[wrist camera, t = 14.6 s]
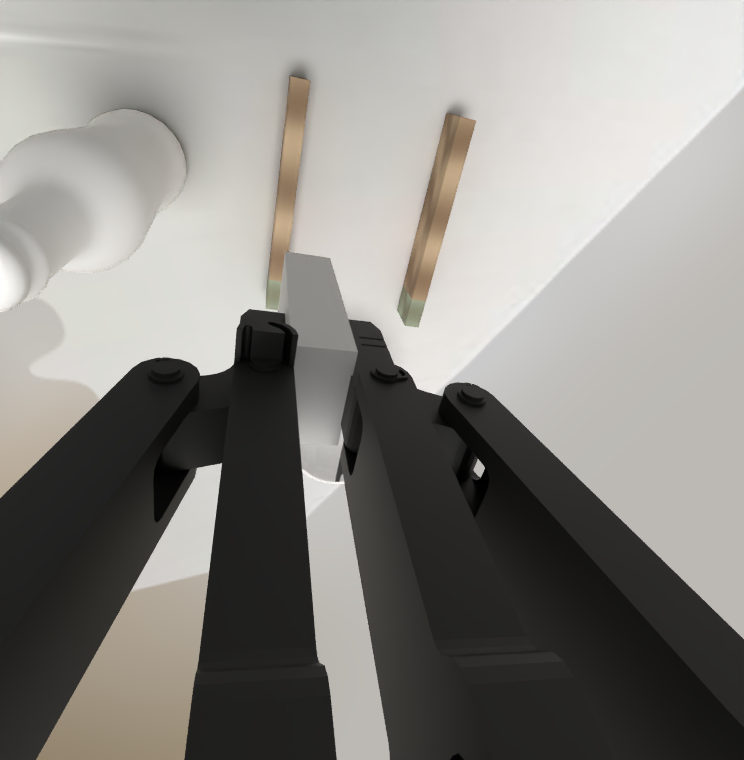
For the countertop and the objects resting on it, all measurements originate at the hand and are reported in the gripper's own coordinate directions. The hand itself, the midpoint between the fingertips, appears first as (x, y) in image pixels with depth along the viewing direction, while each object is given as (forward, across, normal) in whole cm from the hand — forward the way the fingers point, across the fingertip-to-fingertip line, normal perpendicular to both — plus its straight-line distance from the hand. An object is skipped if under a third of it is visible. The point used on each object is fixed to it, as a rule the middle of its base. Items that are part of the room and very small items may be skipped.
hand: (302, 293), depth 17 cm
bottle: (+35, -12, -3) cm, 37 cm away
